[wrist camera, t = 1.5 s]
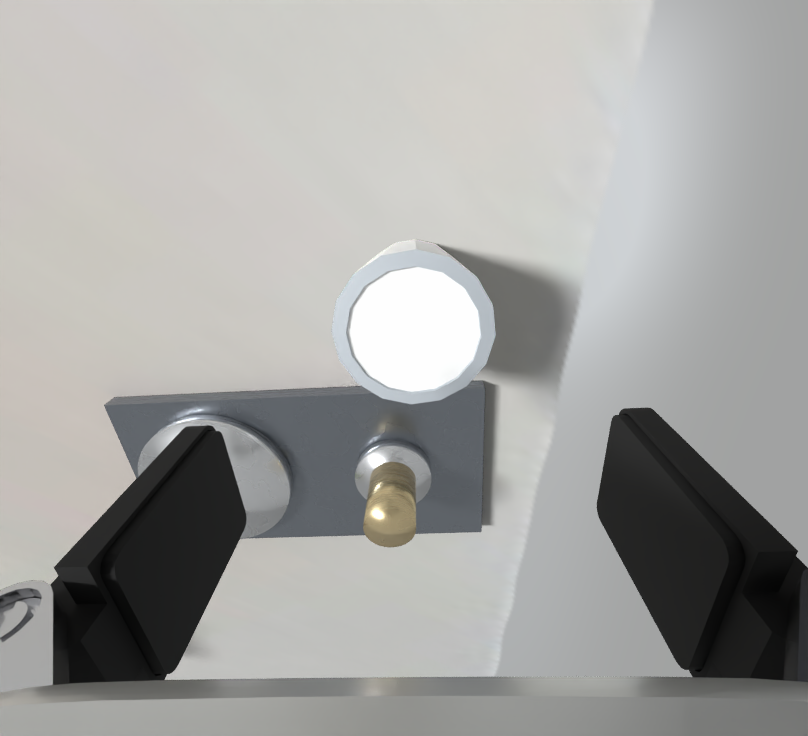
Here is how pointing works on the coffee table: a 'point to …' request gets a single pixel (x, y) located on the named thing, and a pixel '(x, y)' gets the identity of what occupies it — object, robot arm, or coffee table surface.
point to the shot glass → (413, 324)
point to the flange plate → (330, 457)
